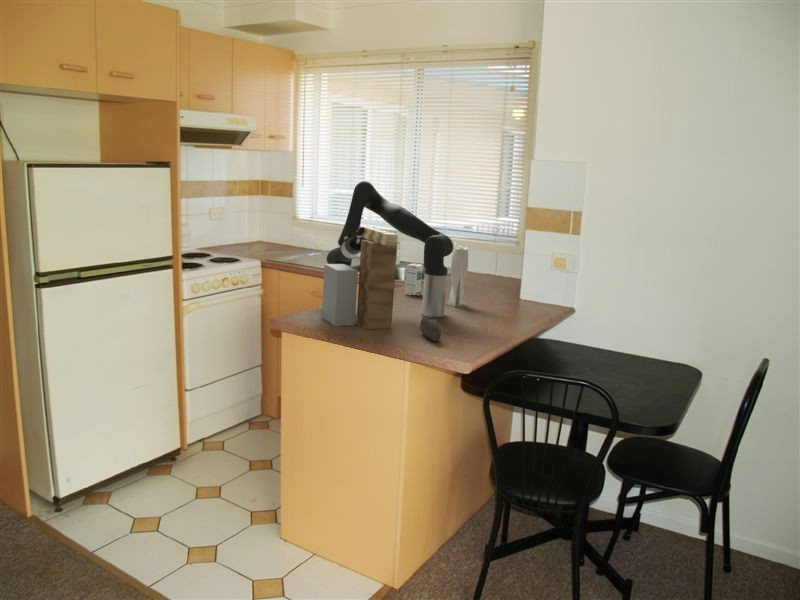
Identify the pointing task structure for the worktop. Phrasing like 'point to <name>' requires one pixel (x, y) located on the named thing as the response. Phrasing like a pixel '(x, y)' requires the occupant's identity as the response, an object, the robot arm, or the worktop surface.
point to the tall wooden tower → (376, 285)
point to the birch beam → (379, 236)
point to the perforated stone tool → (430, 328)
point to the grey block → (339, 294)
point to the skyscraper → (458, 276)
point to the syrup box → (414, 279)
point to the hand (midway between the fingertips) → (369, 229)
